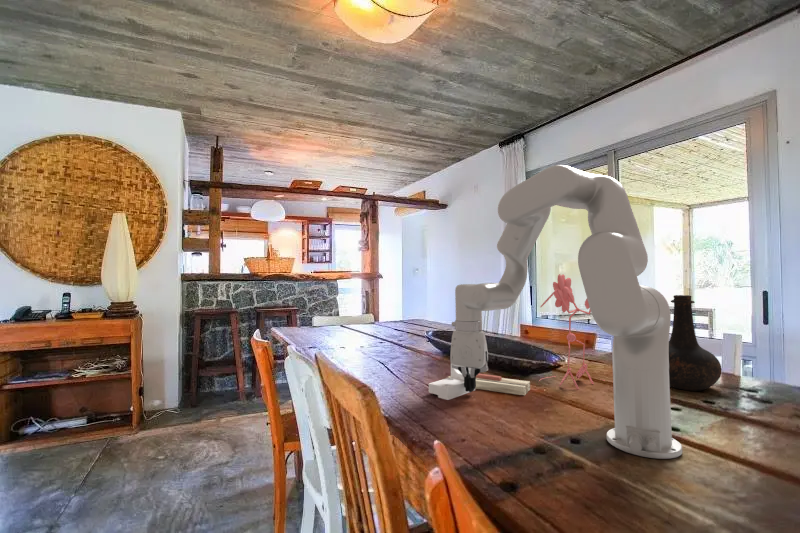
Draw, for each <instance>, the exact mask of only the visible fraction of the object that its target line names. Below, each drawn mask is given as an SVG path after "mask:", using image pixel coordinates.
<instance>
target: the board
mask: <svg viewBox="0 0 800 533" xmlns="http://www.w3.org/2000/svg"><path fill="white" fill-rule="evenodd" d="M449 377H451V374H450V375H449V376H447V378H449ZM475 390H484V391H490V392H496V393H497V392H498V393H505V394H512V395H517V396H518V395H519V396H526V395H527V394H528V392H530V390H531V381H530V380H521V379H520V380H519V379H512V378H504V377H502V380H501V381H497V380H491V379H484V378H477V377H476V388H475Z"/></svg>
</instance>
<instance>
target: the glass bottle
mask: <svg viewBox="0 0 800 533" xmlns="http://www.w3.org/2000/svg"><path fill="white" fill-rule="evenodd" d="M672 297H673V299H671V300H670V302H671V303H672V304H673V320H672V330H671V335H670V337H669V383H670V387H671V388H674V389H678V390H683V391H691V392H692V391H695V392H696V391H697V392H698V391H704V390H707V389H709V388H711V387H712V386H714V385H715V384H716V383H717V382H718V381H719V380H720V378H721V377H722V370H723V369H722V364H721V362H720V360H719V359H718V358H717V356H715V355H714V354H713V353H712V352H710V351H708V350H706V349H704V348H703V347H701V345H700V344H699V343H698V340H697V335H696V332H695V326H694V325H695V324H694V318H693V317H694V316H693V306H692V304H695V303H696V301H694V300H692V296H691V295H688V294H685V295H683V294H675V295H673V296H672Z"/></svg>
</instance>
